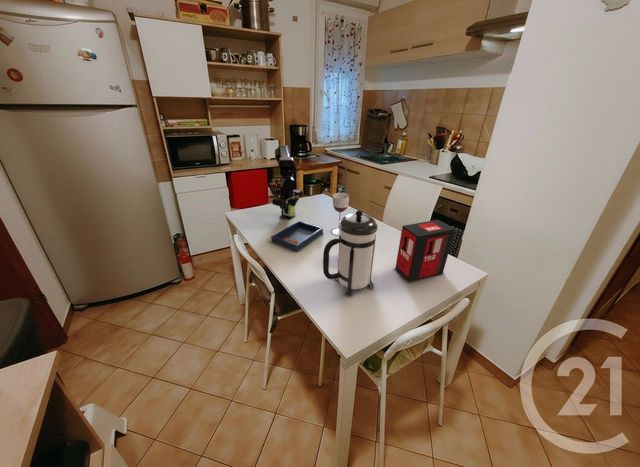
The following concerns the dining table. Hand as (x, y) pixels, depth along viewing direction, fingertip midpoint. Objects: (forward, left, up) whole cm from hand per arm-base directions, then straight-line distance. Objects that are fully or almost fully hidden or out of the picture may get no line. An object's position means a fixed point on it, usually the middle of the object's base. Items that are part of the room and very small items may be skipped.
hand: (289, 212), depth 139 cm
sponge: (0, 0, -1) cm, 1 cm away
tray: (+8, +12, -8) cm, 16 cm away
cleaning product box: (+3, +70, -8) cm, 70 cm away
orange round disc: (+15, +15, -7) cm, 23 cm away
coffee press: (+26, +51, -8) cm, 58 cm away
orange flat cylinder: (+15, +10, -7) cm, 20 cm away
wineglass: (-9, +26, -8) cm, 29 cm away
